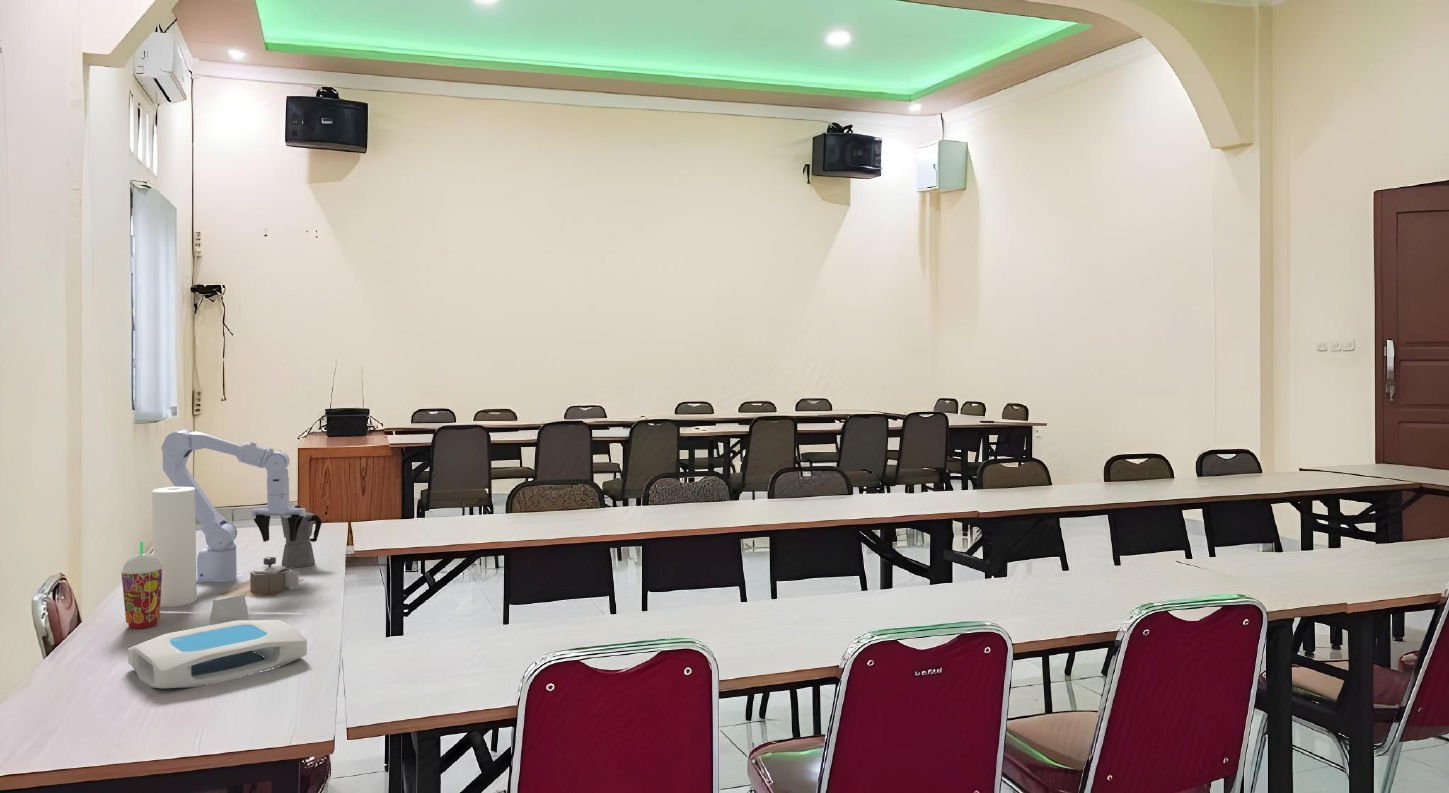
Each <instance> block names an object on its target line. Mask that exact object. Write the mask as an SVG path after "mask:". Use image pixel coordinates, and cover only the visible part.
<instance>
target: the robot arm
mask: <svg viewBox="0 0 1449 793" xmlns="http://www.w3.org/2000/svg"><path fill="white" fill-rule="evenodd" d="M160 447H161V448H160V449H161V451H162V452H161V453H162V469H163V472H164V473H165V475H166V477H167V478H168V479H169V480H170V482H171V484H172V485H173V487H193V488H195V518H196V519H197V520H198V522H199V523H200V527H201V531H202V533H203V535H204V537H205V542H206V545H207V548H202V549H201V550H199V552H198V554H197V556H196V583H203V582H231V581H234V580H235V579H237V578H240V577H241V576H243V574H238V573H237V572H238V570H237V545H236V544H235V542H234V541H235V540H236V538H237V536H238V530H237V527H236V526H235V524H233V523H231V522H229V521H228V520H227V519H226V518H225V516H224V515H222V514H221V513H220V512H218V511H217V509H216V508H215V507H214V505H213V504H212V502H211V500H210V499H209V498H208V497H207V495H206V494H205V492H204V491H203V489H202V488H201V487H200V485H199V483H198V482H197V481H196V479H195V478H194V476H193V475H192V474H191V472H190V471H189V469H188V468H187V466H186V465H187V463H188V459H189V456H190V454H192V452H193V451H197V450H202V449H208V450H212V451H215V452H220V453H223V454H227V455H232V456H235V457H236V459H237V460H238V462H240V463H244V464H247V465H249V466H253V467H255V468H256V467H257V468H259V469H260V468H261V469H265V470H266V472H267V473H266V475H267V476H266V477H267V478H266V490H267V491H266V493H267V494H266V497H267V498H266V499H267V507H265V508H264V507H263V508H260V507H259V508H253V509H251V517H255V518H253V521H254V523H255V524H256V526H257V527H258V529H259V531H260V535H261V538H262V541H263V542H264V543H266V542H268V541H270V522H271V517H273V516H274V517H276V516H277V517H278V516H279V517H281V516H291V517H289V518H288V523H289V528H290V542H292V541H295V540H296V536H297V532H298V528H299V526H300V523H301V521H302V519H303V517H304V515H306V511H307V510H306V508H302V507H300V508H295V507H290V503H291V502H290V478H289V468H288V467H289V465H290V457H289V455H288V454H287V453H286V452H284V451H282V450H278V449H277V450H274V448H272V447H270V448H267V447H264V446H259V445H257V442H254V441H251V442H244V443H242V444H238V443H235V442H232V441H229V440H226V439H223V438H221V437H217V436H214V435H211V434H209V433H205V432H201V431H196V430H195V431H192V430H191V429H186V428H183V429H179V430H178V431H173V432H170V433H169V434H168V435H166V437H165V439H164V441H163V443H162V444H161V446H160Z"/></svg>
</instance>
